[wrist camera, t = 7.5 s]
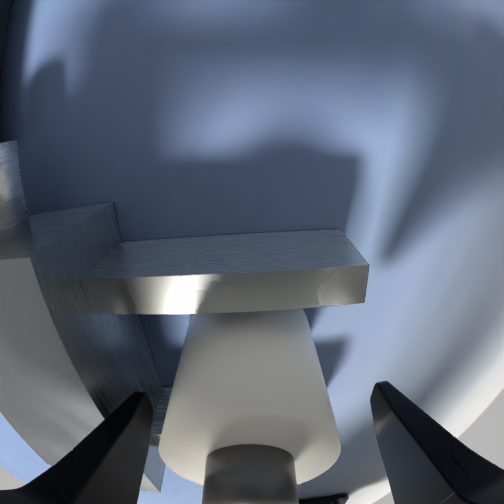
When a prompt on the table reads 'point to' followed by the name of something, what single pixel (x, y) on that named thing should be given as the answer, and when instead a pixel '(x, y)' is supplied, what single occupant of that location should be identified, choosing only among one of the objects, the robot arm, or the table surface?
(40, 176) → the table surface
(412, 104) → the table surface
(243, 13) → the table surface
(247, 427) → the white cylinder
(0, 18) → the pipe connector
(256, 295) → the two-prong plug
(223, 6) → the table surface
